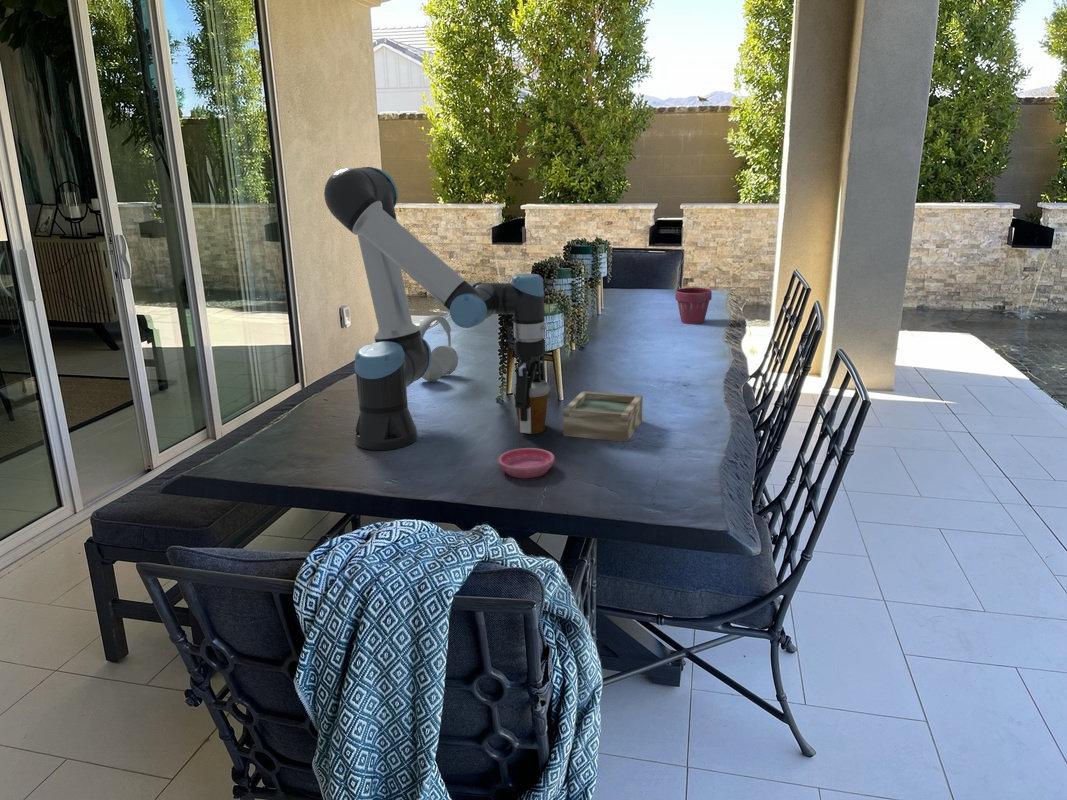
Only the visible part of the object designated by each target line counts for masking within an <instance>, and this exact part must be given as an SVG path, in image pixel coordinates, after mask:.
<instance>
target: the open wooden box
mask: <svg viewBox="0 0 1067 800" xmlns="http://www.w3.org/2000/svg"><path fill="white" fill-rule="evenodd" d="M562 415H563V417H562V418H563V419H562V421H563V423H562V424H563V427H562V429H563V436H565V437H574V438H584V439H594V440H604V441H615V442H622V443H623V442H624V443H627V442H628V441H629V440H630V439H631V438H632V436H633V435H634V433H635V432H636V430H637V429H638V428H639V426H640V425H641V423H642V422H643V395H635V394H624V393H611V392H599V391H584V390H582V391H581V392H580V393H579V394H577V396H576V397H574V399H572V400H571V401H570V402H569V403H568V404H567V405H566V406H565V407H564V408H563V409H562Z"/></svg>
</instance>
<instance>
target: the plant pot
mask: <svg viewBox="0 0 1067 800" xmlns="http://www.w3.org/2000/svg"><path fill="white" fill-rule="evenodd" d="M712 292H713V291H712V289H710V288H706V287H682V288H678V289H676V290H675V293H674V294H675V295H674V296H675V297H674V298H675V301H677V305H678V306H677V307H678V310H679V311H678V313H679V317H680V322H681V323H683V324H688V325H698V324H699V325H700V324H703V323H705V321H706V316H707V314H708V313H707V312H708V308H709V303H710V301H711V300H712V298H713V297H712V294H713V293H712Z"/></svg>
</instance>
